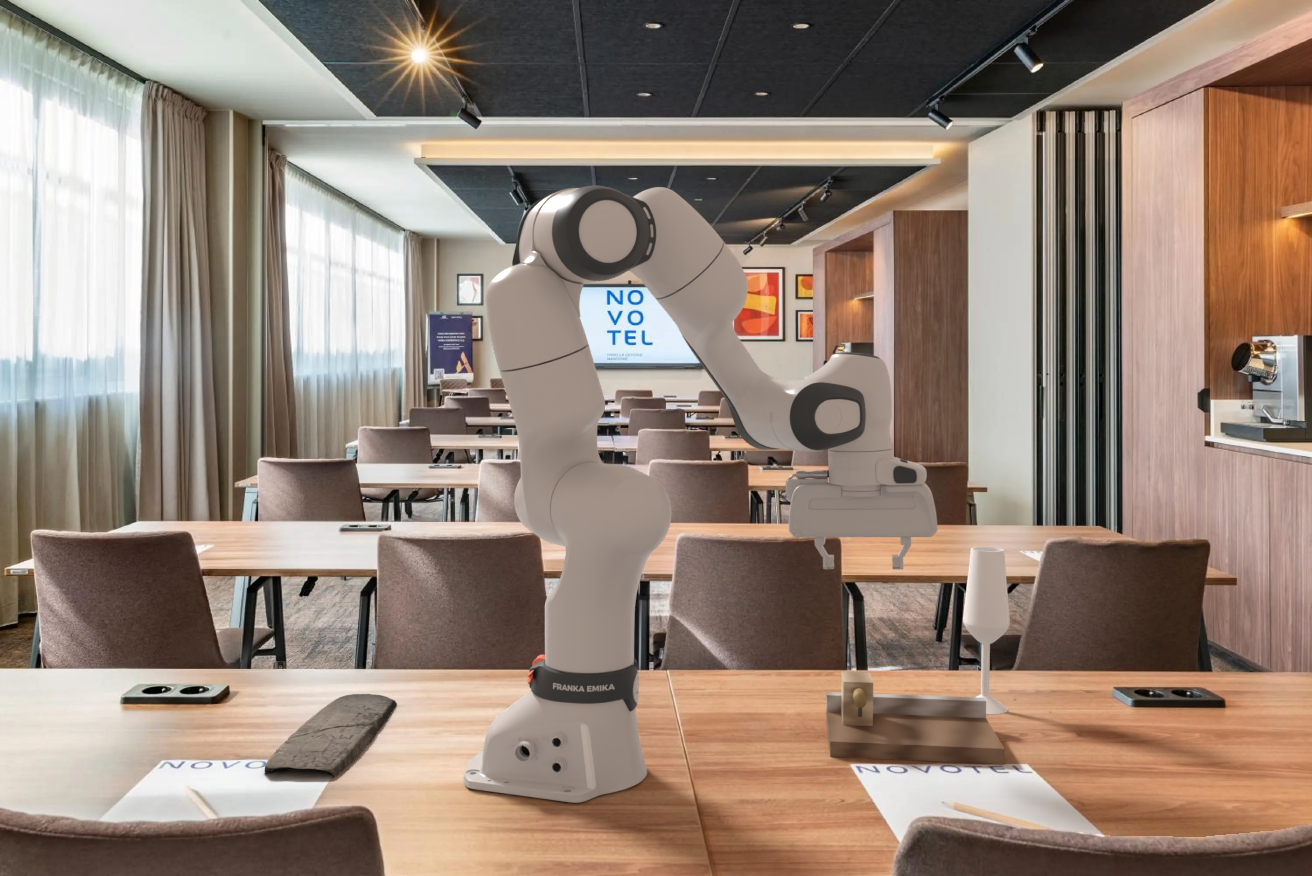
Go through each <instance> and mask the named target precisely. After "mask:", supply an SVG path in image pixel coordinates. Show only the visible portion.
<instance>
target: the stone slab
mask: <svg viewBox="0 0 1312 876" xmlns="http://www.w3.org/2000/svg"><path fill="white" fill-rule="evenodd" d="M396 705H398V703H397V702H396V700H395V699H392V698H390V697H388V696H385V695H382V694H372V693H352V694H346V695H343V696H340V697H338V698H335V699H334V700H332V701H331V702H330V703H328V704H327V705H326V706H324V707H322V708H320V710H319V711H317V712H316V713H315V714H314V715H312V716H311V717H310V718H309V719H308V720H306V721H305V722H304V724H302V725H301V726H300V727H298V729H297V730H296V731H295V732H293V733H292V734H291V735H290V736H289V737H288V738H287V739H286V740H285V741H284V742H283V743H282V744H281V745H280V746H279V747H278V748H277V749H276V751H275V752H274V753H273V754H272V755H271V756H270V758H269V759H268V760H267V761H266V764H265V766H264V775H266V774H269V773H272V772H274V771H276V770H280V769H288V768H290V769H291V768H292V769H297V770H299V769H301V770H303V769H307V770H309V769H310V770H311V769H312V770H318V771H319V770H320V771H325V772H328V773H329V774H331V775H333V778H336V777H337V776H338V775H340V774H341V773H343V771H344V770H345V769H347V768H348V767H350V766H351V765H352V764H353V763H354V761H355V760H356V759H357V758H358V757H359V756H360V754H361V753H362V752H363V751H364V750H365V748H367V746H369V744H371V742H372V741H373V740H374V739H375V737H376V735H377V734H378V732H379V731H380V730H381V728H382V727H383V726H384V724H385V723H386V722H387V720H388V719H389V717H390V716H391V714H392V713H393V712H394V710H393V709H395V708H396V707H397V706H396ZM395 706H396V707H395ZM391 712H392V713H391Z"/></svg>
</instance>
